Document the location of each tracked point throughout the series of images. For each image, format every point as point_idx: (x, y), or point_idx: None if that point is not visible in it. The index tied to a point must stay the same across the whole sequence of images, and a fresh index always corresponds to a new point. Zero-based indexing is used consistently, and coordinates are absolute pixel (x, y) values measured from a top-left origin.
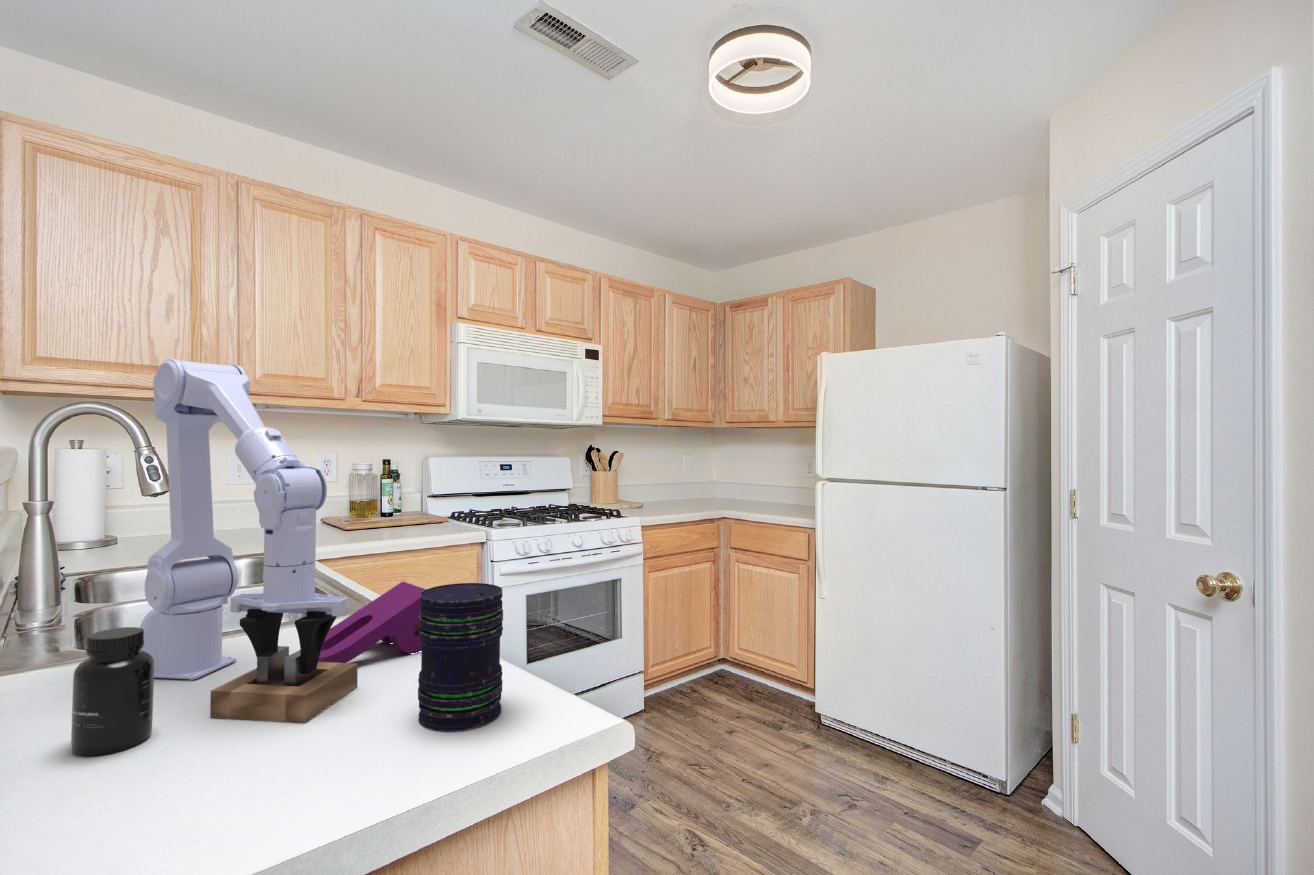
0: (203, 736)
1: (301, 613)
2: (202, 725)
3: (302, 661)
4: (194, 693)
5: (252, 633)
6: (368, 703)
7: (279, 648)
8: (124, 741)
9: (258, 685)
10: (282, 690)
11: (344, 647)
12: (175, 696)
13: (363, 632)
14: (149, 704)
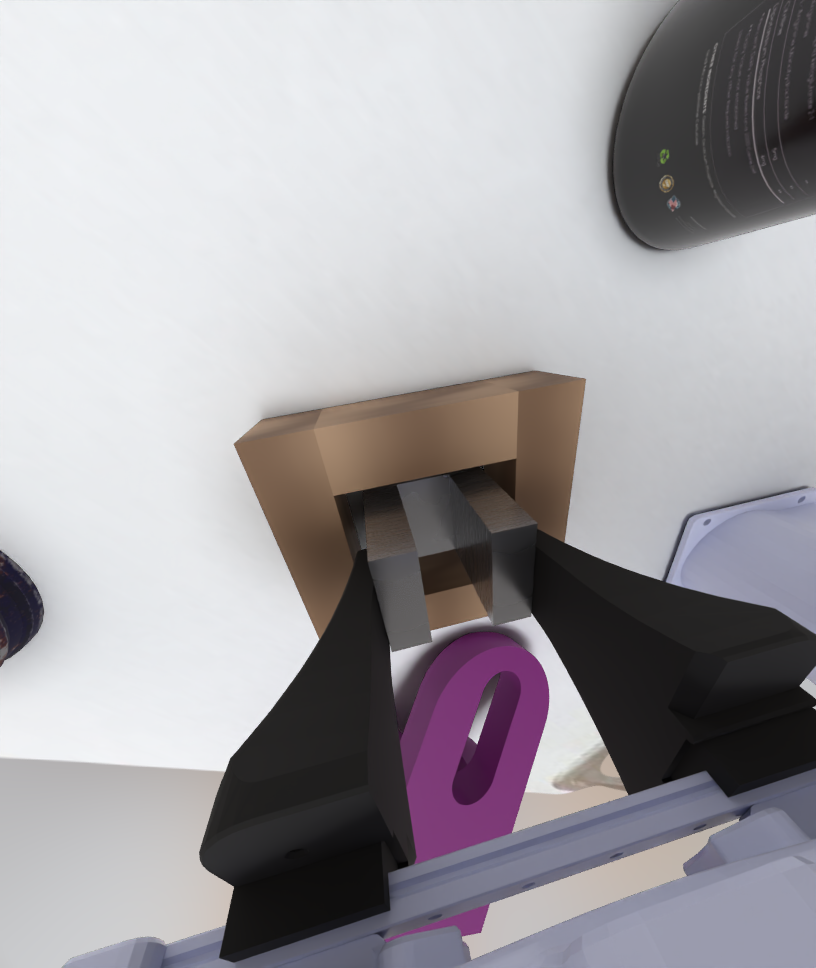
0: (467, 256)
1: (447, 854)
2: (523, 324)
3: (366, 573)
4: (654, 470)
5: (646, 596)
6: (222, 558)
7: (512, 604)
8: (655, 43)
9: (468, 461)
10: (357, 453)
11: (447, 695)
12: (685, 445)
13: (435, 752)
14: (725, 113)
